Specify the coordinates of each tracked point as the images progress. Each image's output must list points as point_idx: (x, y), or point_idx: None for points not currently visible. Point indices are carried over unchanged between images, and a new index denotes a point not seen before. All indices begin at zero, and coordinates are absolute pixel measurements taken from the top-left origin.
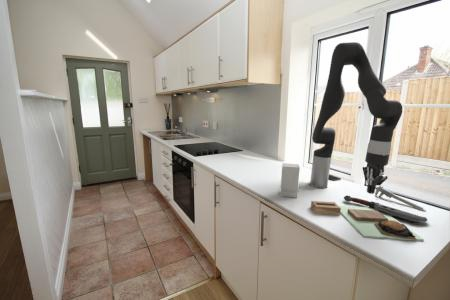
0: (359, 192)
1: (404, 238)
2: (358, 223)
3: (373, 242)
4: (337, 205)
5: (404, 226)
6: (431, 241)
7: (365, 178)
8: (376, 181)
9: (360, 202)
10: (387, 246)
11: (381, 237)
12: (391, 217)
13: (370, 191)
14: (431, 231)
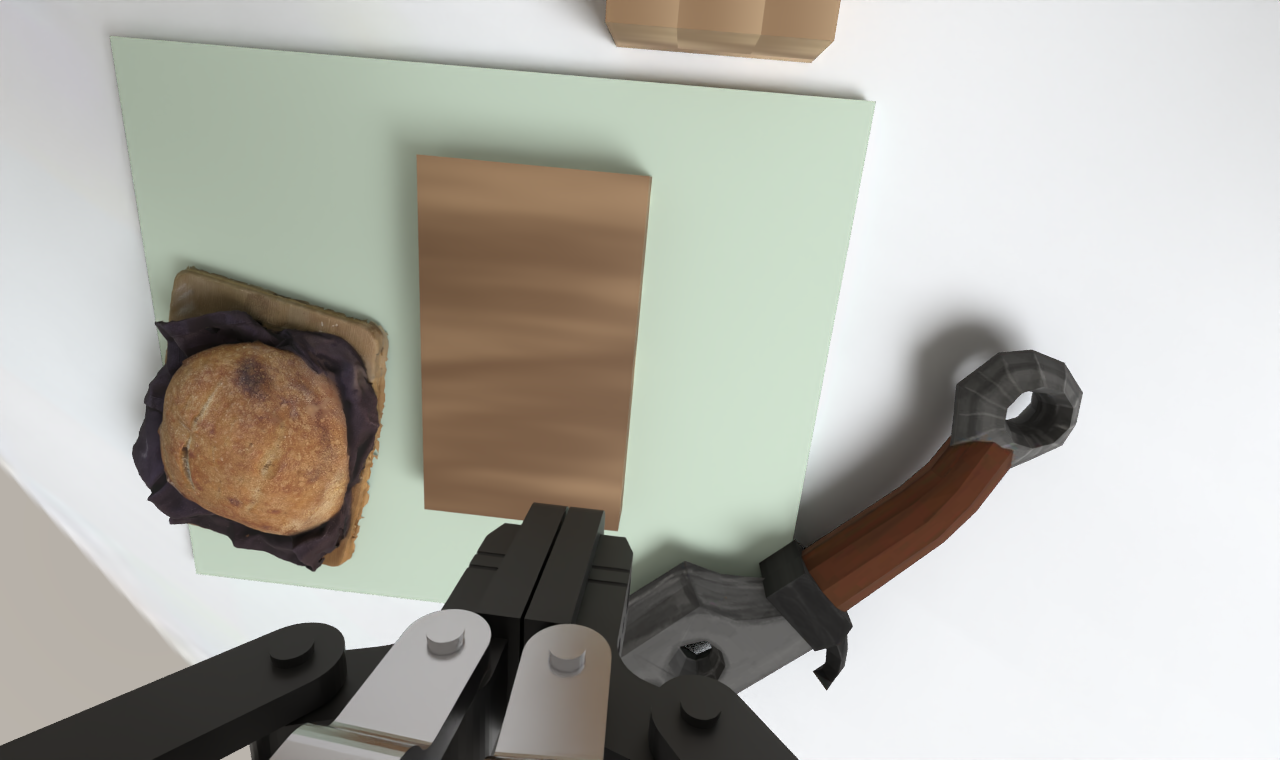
0: (1256, 726)
1: None
2: (375, 146)
3: (56, 89)
4: (703, 20)
5: (322, 560)
6: (218, 617)
7: (699, 715)
8: (66, 733)
9: (883, 503)
10: (27, 189)
11: (146, 227)
12: None
13: (503, 534)
14: None
